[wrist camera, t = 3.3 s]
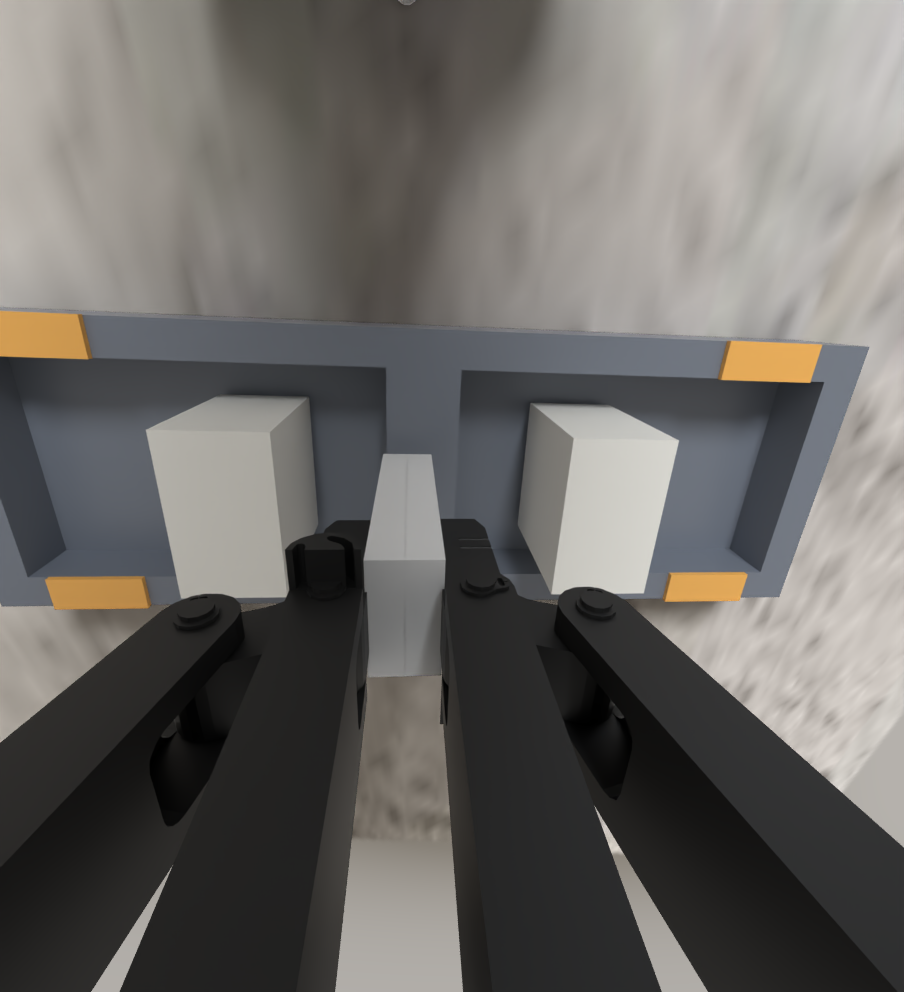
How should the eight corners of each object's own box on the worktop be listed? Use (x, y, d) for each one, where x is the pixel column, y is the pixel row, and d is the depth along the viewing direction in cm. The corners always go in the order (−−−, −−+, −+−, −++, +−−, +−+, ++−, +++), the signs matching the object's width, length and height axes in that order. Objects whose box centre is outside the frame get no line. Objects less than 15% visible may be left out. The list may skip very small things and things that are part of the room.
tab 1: (221, 394, 16) (145, 429, 12) (308, 396, 17) (269, 432, 12) (239, 523, 18) (181, 598, 14) (318, 524, 18) (287, 597, 14)
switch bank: (-22, 306, 16) (-121, 306, 13) (801, 339, 19) (875, 346, 16) (59, 564, 20) (-3, 610, 17) (733, 561, 22) (782, 600, 19)
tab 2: (530, 402, 17) (574, 438, 13) (608, 404, 18) (679, 440, 13) (517, 524, 19) (551, 594, 15) (588, 524, 19) (643, 593, 15)
